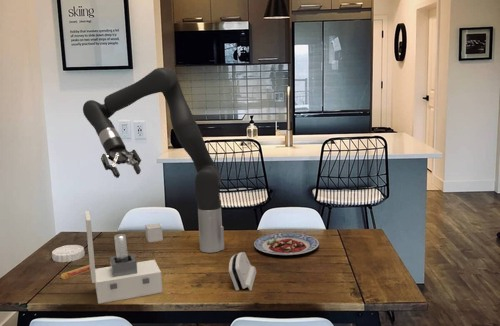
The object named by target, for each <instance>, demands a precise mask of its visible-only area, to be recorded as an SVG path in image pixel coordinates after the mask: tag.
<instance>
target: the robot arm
mask: <svg viewBox="0 0 500 326" xmlns="http://www.w3.org/2000/svg"><path fill="white" fill-rule="evenodd" d="M178 78H179V77H178V76H177V74H176V72H175V71H174V70H173V69H171V68H170V67H166V66H165V67H157V68H155V69H153V70H151V71H150V72H149V73H148V74H146V75H145V76H144V77H143V78H141V79H140V80H138V81H136V82H134V83H133V84H130V85H128V86H126V87H123V88H121V89H119V90H117V91H115V92H114V91H113V92H112V93H110V94H108V95H107V96H105V97H104V99H103V103H100V102H98V101H96V100H93V99H91V100H89V99H88V100H86V101H85V102H84V104H83V106H82V113H83V115H84V117H85V118H86V120H87V121H88V122H89V124H90V125H91V126H92V127H93V128H94V130H95V132H96V134H97V137H98V138H99V141H100V144H101V146H102V147H103V149H104V152H105V153H102V155H101V157H100V161H101V163H102V165H103V168H104V169H105V171H108V170H109V171H111V173H112V174H113V176H114V178H116V179H119V177H120V176H121V174H120V172H119V170H118V168H117V166H116V165H122V164H126V165H129V166H132V168H133V170H134V172H135V173H136V175H140V173H141V171H142V170H141V167H140V164H141V162H142V159H141V157H140V156H139V154H138V152H137V150H135V149H132V150H131V151H128V150H127V147H126V145H125V143H124V141H123V139H122V137H121V135H120V134H119V132H118V131H117V129H116V128H115V126H114V123H113V122H112V121H111V120H110V119H109V118H111V117H112V116H113V115H114V114H115V113H117V112H119V111H120V110H123V109H125V108H127V107H129V106H131V105H133V104H134V103H136V102H137V101H139V100H140V99H142V98H144V97H147V96H150V95H155V94H158V93H162V95H163V97H164V99H165V100H166V103H167V106H168V109H169V115H170V121H171V122H170V123H171V126H172V127H171V128H172V129H173V132H174V134H175V136H176V139H177V140H178V142H179V144H180V145H181V147H182V148H183V149H184V151H185V152H186V153H187V155H189V157H190V159H191V160H192V162H193V165H194V167H195V170H196V172H197V173H196V175H195V179H194V189H195V201H196V203H197V204H196V205H197V217H198V233H199V235H198V237H199V238H198V239H199V251H200V252H203V253H210V254H211V253H218V252H220V251H223V250H225V233H224V232H225V231H224V229H225V228H224V226H223V220H222V219H223V218H222V216H223V215H222V200H221V199H220V186H219V185H220V183H221V180H222V174H221V172H220V170H219V169H218V167H217V165H216V163H215V161H214V160H213V158H212V156H211V154H210V153H209V150H208V148H207V145H206V142H205V140H204V137H203V135H202V132H201V130H200V128H199V125H198V123H197V122H196V119H195V117H194V115H193V113H192V111H191V109H190V106H189V104H188V103H187V100H186V99H185V96H184V92H183V90H182V87H181V85H180V81H179V79H178ZM109 161H111V162H112V163H111V164H110V162H109Z"/></svg>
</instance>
